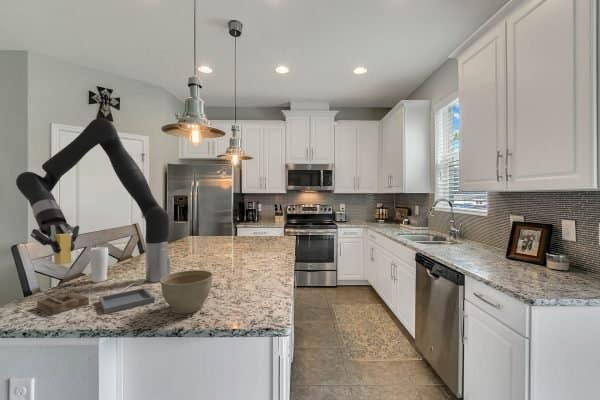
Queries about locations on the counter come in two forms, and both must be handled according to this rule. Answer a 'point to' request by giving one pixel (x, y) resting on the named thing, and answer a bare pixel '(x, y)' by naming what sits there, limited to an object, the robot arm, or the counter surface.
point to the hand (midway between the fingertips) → (65, 250)
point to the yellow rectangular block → (63, 249)
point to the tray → (125, 300)
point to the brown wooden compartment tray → (62, 303)
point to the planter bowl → (186, 290)
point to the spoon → (132, 284)
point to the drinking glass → (99, 263)
